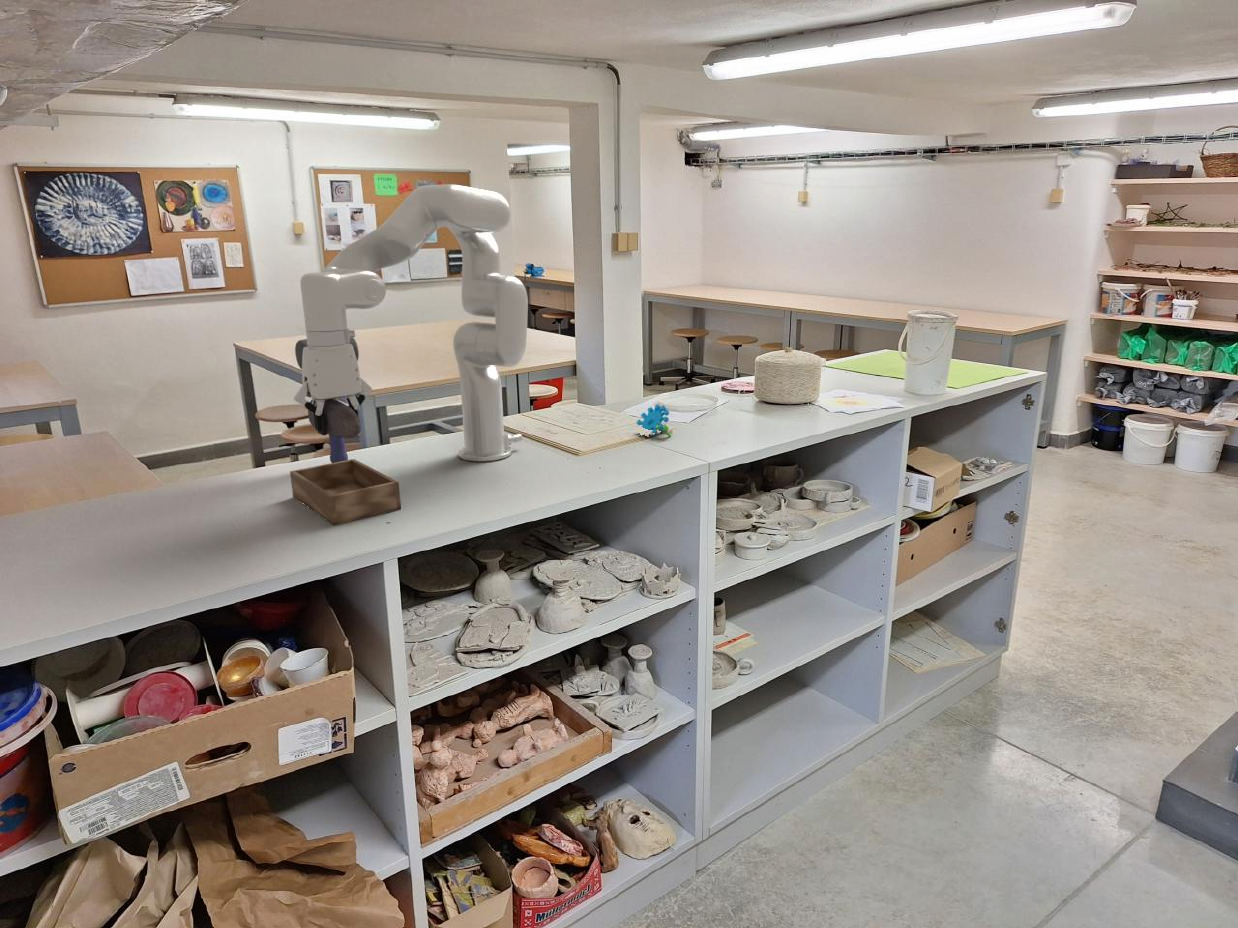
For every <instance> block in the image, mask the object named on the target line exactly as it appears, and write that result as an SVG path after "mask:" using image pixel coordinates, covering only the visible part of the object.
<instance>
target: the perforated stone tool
mask: <svg viewBox="0 0 1238 928" xmlns="http://www.w3.org/2000/svg"><path fill="white" fill-rule="evenodd" d="M312 401H313V399H312V398H311V400H310V401H309V402H310V403H312ZM348 406H349V405H348V404H347V405H346V403H343V402H342V401H340V400H338V401H337V400H335V399H328V400H325V401H324V406H323V410H322V412H323V415H325V418H326V427H327V434H326V435H328V436H329V435H333V436H338V437H343V438H344V439H353V438H357V437H358V436H359V435H360V433H361V429H362V424H361V420H360V418H358V417H359V415H358V416H357V415H356V413H355V412H354V411H353V410H352V409H351V408H350V407H348ZM307 414H308V421H309V423H310V424H311V426H312V427H313V428H315V422H314V414H313V413H311V412H310V411H309V410H308V409H307Z"/></svg>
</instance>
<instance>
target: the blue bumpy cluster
mask: <svg viewBox="0 0 1238 928" xmlns="http://www.w3.org/2000/svg"><path fill="white" fill-rule="evenodd" d="M669 414H670V411H669V410H668V409H667V407H666V406H665V405H664V404H663V405H661V406H660V404H655V405H654V408H653V407H648V408H647V414H646V413H645V412H642V413H641V414H640V417H641V418H642V419H643V420H641V419H637V420H636V421H637V422H636V425H638V426H641V427H643V428H645V429H648V430H653V431H652V432H651V434H652V433H655V434H656V435H658V431H659V432H660V431H661V432H662V433H661V432H660V433H661V434H666V436H668V438H671V437H672V434H671V433H670V432H669V427H668V425H667V424H665V423H668V422H669V420H670V418H669V417H668V416H669ZM662 422H664V424H663V423H662Z"/></svg>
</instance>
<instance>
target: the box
mask: <svg viewBox="0 0 1238 928" xmlns="http://www.w3.org/2000/svg"><path fill="white" fill-rule="evenodd" d="M289 475H290V480H291V481H290V482H291V489H292V490H291V491H292V497H293V498H294V499H295V498H296V499H297V500H296V499H295V500H296V501H298V502H299V501H300V502H299V503H301V502H302V503H304V504H305V505H306V506H308V507H309V508H310V510H311V509H312V510H313V512H314V511H315V512H316V513H315V512H314V513H315V514H317V515H318V514H319V515H320V516H319V515H318V516H319V517H321V518H323V519H324V520H325V519H326V520H325V521H326V522H328V523H329V522H330V523H329V524H331V525H332V524H333V526H335V525H336V524H337V525H341V524H345V523H349V522H353V521H356V520H357V519H358V520H362V519H365V518H369V517H373V516H378V515H382V514H387V513H392V512H394V511H398V510H401V509H402V505H401V494H400V484H399V481H397V480H396V479H393V478H391V477H390V476H388V475H386V474H384V473H383V472H380V471H379V470H376V469H374V468H372V467H370V466H368V465H367V464H365V463H362V462H361V461H359V460H356V459H355V458H353V459H352V458H351V459H348V460H346V461H341V462H336V463H326V464H322V465H316V466H312V467H306V468H300V469H295V470H291V471H289ZM302 503H301V504H302ZM304 504H303V505H304ZM305 505H304V506H305ZM306 506H305V507H306ZM308 507H307V508H308ZM309 508H308V509H309ZM312 510H311V511H312ZM361 518H362V519H361ZM340 523H341V524H340Z"/></svg>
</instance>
